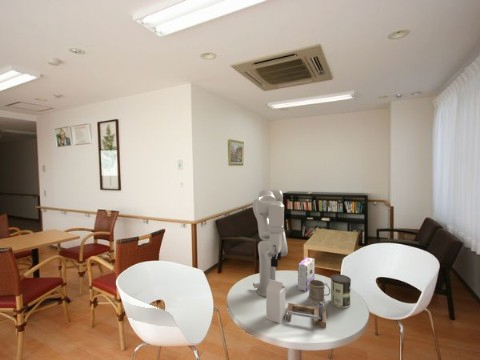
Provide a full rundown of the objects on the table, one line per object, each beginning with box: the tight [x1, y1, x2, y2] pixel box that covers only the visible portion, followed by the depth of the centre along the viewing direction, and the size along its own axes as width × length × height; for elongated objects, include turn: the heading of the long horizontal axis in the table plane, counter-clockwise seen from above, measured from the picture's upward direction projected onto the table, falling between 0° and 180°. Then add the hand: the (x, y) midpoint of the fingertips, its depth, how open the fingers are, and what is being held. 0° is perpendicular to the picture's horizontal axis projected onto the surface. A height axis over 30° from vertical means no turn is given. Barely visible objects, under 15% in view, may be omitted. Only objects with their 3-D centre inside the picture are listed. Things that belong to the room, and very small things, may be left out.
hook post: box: [318, 302, 324, 321], centre depth 121 cm, size 2×4×8 cm, turn 163°
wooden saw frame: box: [285, 302, 327, 329], centre depth 128 cm, size 19×12×2 cm, turn 73°
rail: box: [287, 311, 321, 322], centre depth 123 cm, size 16×1×4 cm, turn 73°
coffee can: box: [330, 273, 352, 309], centre depth 141 cm, size 10×10×14 cm
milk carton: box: [265, 279, 286, 324], centre depth 127 cm, size 7×7×19 cm
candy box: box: [297, 256, 316, 293], centre depth 160 cm, size 14×6×16 cm, turn 144°
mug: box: [306, 279, 331, 305], centre depth 142 cm, size 14×10×12 cm
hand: (276, 262), depth 126 cm, fingers open, 9 cm apart
